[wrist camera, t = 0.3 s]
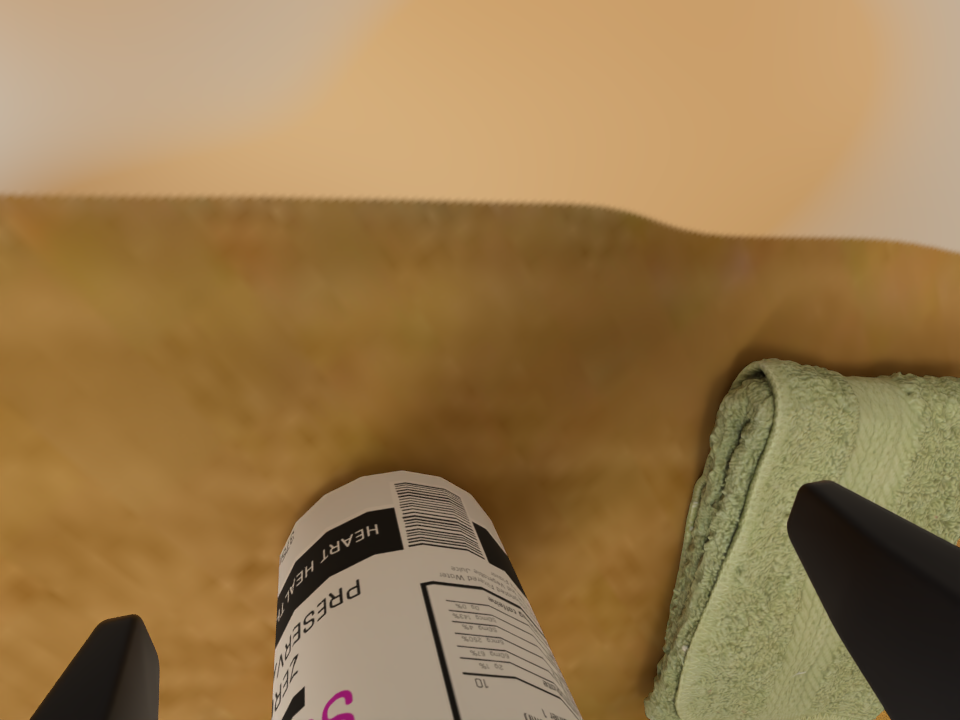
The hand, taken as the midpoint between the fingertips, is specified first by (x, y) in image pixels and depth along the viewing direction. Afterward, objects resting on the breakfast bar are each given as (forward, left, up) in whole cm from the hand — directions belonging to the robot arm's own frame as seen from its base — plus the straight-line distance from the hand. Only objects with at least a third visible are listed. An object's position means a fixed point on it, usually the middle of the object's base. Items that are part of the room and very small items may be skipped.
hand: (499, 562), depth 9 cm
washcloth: (0, -22, -16) cm, 27 cm away
